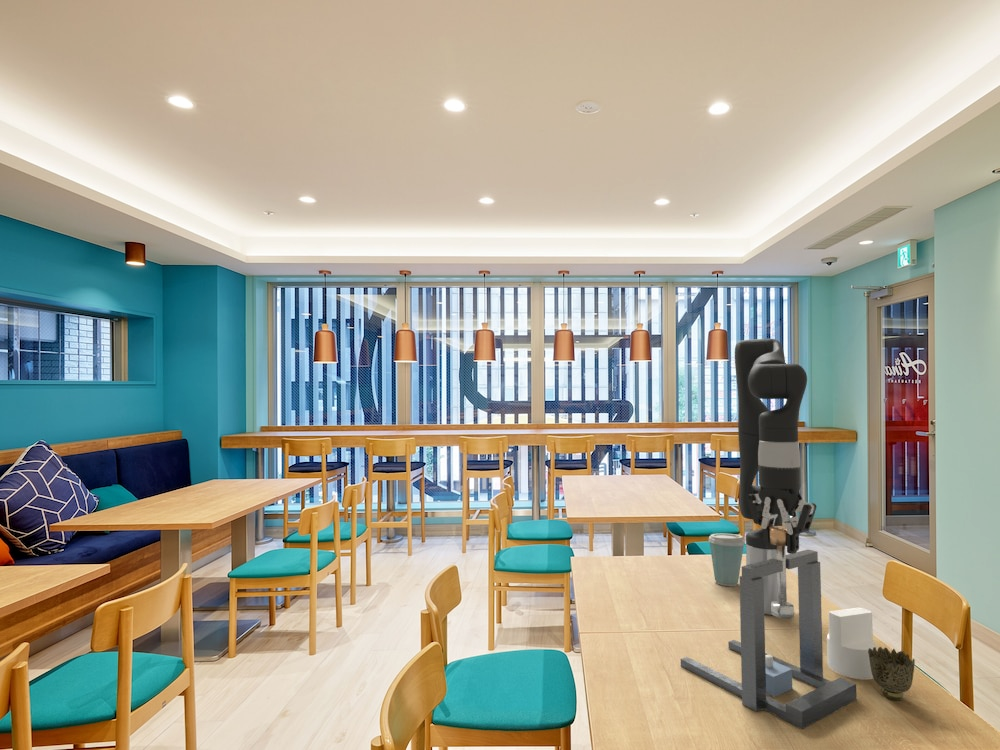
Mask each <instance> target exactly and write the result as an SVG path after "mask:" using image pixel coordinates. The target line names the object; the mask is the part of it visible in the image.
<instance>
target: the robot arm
mask: <svg viewBox="0 0 1000 750" xmlns="http://www.w3.org/2000/svg"><path fill="white" fill-rule="evenodd" d="M734 367H735V368H734V369H735V377H736V378H735V379H736V388H737V400H738V401H737V402H738V410H737V411H738V414H737V417H738V420H737V428H738V429H737V433H738V434H737V435H738V450H739V451H738V452H739V463H740V464H739V465H740V467H739V469H740V470H739V471H740V473H739V497H738V498H739V499H738V500H739V504H738V505H739V512H740V514H741V517H743V518H745V519H747V520H752V521H753V523H754V524H755V525H759V526H760V527H761V528H759V529H755V530H751V531H749V532H746V535H745V554H746V555H745V557H746V559H745V561H746V565H749V564H753V563H757V562H761V561H765V560H769V559H773V558H774V559H777V549H776V545H773V544H771V543H770V532H769V527H770V526H783V523H784V524H785V527H786V529H787V532H788V534H787V546H786V552H787V553H788V554H793V553H796V552H799V549H800V534H803V533H804V534H805V533H807V532H809V531H810V529H811V525H812V522H813V519H814V517H815V513H816V510H817V505H816V503H814V502H812V503H810V502H807V501H805V500H803V498H802V495H801V493H800V491H801V484H802V482H801V481H802V480H801V452H800V446H799V415H800V410H801V409H800V408H801V404H802V401H803V398H804V395H805V392H806V388H807V385H808V375H807V372H806V371H805V369H804V368H803V366H801V365H799V364H797V363H786V356H785V353H784V347H783V346H782V343H781V342H780V341H779V339H778V340H777V339H775V338H755V339H743V340H742V339H741V340H739V341H737V342H736V344H735V347H734ZM761 399H763V400H784V399H785V400H786V401H785V404H784V405H783V406H781V408H778V409H774V410H773V409H772V410H770V409H769V408H768V407H767V405H765V403H764V401H762V400H761ZM757 474H758V485H753V483H754V481H755V479H756V477H757ZM798 508H799V512H800V514H798V511H797V509H798ZM787 553H786V554H787ZM746 565H745V566H746ZM762 578H764V615H770V616H773V615H772V614H771V602H773V601H778V592H777V573H775V574H771V575H768V576H764V577H762Z"/></svg>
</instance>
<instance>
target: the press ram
mask: <svg viewBox="0 0 1000 750" xmlns="http://www.w3.org/2000/svg"><path fill="white" fill-rule="evenodd" d="M769 532H770V543H771V544H773V545H776V549H777V560H781V561H783V571H782V572H778V573H777V592H778V601H773V602H771V614H772V615H771V616H773V617H776V618H779V619H789V620H790V619H793V618H794V617H795V616H794V615H795V614H794V613H795V611H794V610H795V609H794V608H795V607H794V604H792V603H791V602H787V599H788V598H787V596H788V595H787V568H786V555H787V553H786V552H787V550H786V547H787V534H788V532H787V529H786V526H783V525H782V526H770V527H769Z"/></svg>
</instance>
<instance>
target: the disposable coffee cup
mask: <svg viewBox="0 0 1000 750" xmlns="http://www.w3.org/2000/svg"><path fill="white" fill-rule="evenodd" d="M708 542H709V547H710V555H711V560H712V561H711V562H712V569H713V574H714V581H715V583H716V584H718V585H720V586H723V587H736V586H737V585H738V583H739V581H740V573H741V568H742V561H743V560H742V558H743V552H744V547H745V546H746V541H745V539H744V536H743V535H740V534H734V533H711V534H710V535H709V537H708Z"/></svg>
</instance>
